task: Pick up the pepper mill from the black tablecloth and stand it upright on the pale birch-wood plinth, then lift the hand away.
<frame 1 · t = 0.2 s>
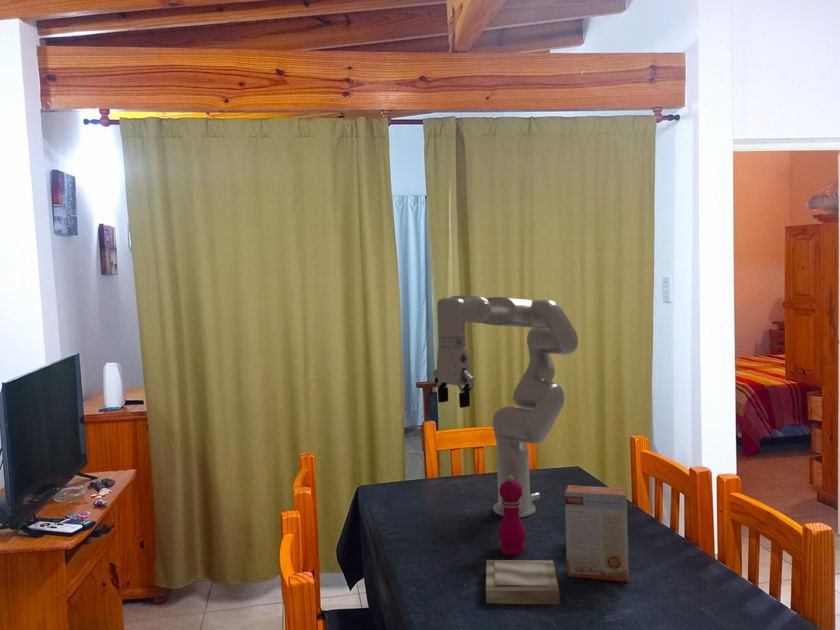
hand: (453, 404, 198), 36 cm above the table, tool pointing down, fingers open, 9 cm apart
pepper mill: (512, 551, 187), on the table
cracker box: (597, 575, 171), on the table
birch plinth: (521, 587, 166), on the table
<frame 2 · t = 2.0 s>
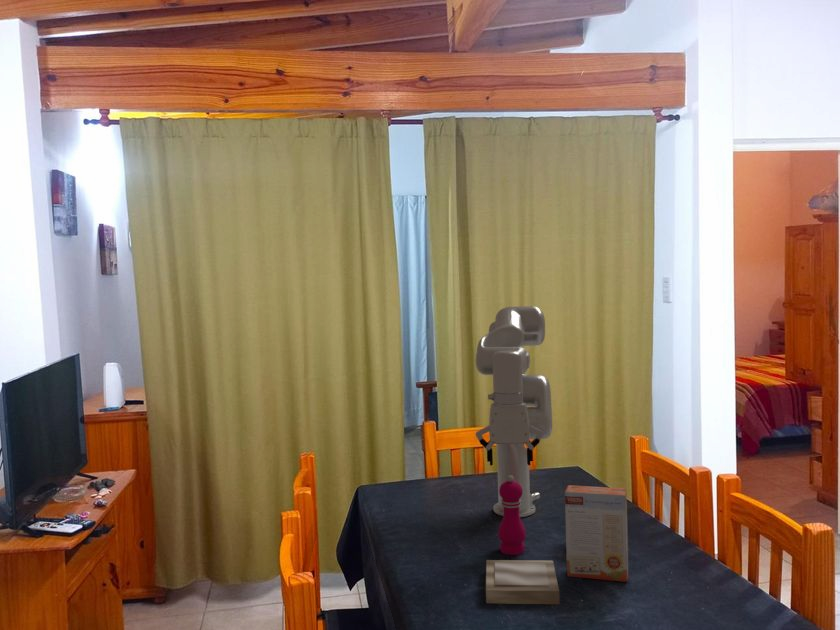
hand: (510, 464, 185), 23 cm above the table, tool pointing down, fingers open, 9 cm apart
nothing on the table moved.
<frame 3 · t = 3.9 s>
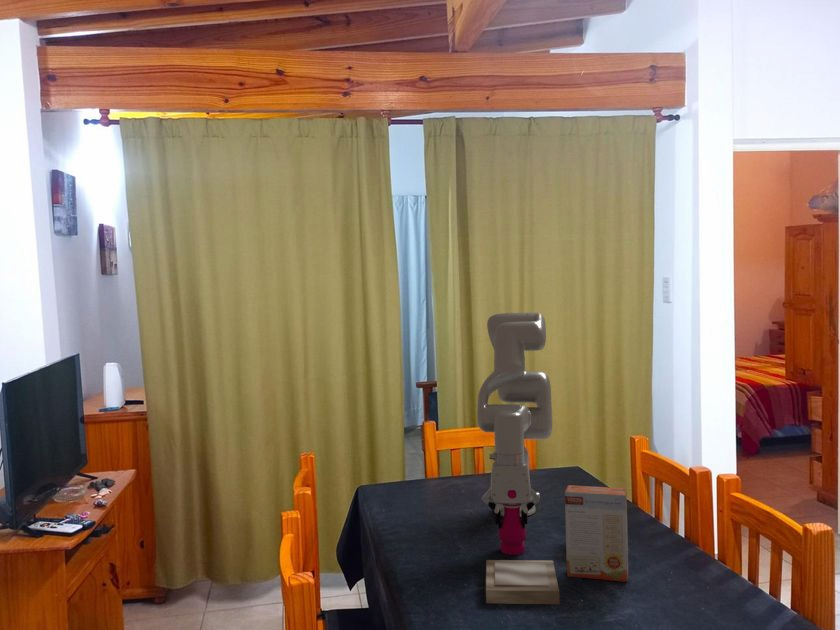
hand: (511, 525, 186), 7 cm above the table, tool pointing down, fingers closed on pepper mill, 5 cm apart
pepper mill: (512, 551, 187), on the table, touching gripper
everything else where it was.
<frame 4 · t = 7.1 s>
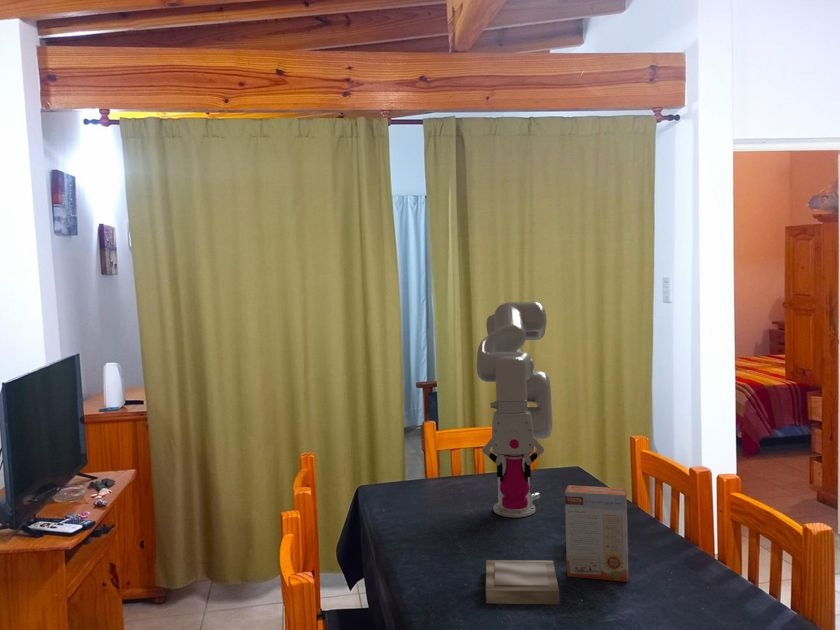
hand: (513, 479, 175), 22 cm above the table, tool pointing down, fingers closed on pepper mill, 5 cm apart
pepper mill: (514, 506, 175), point 15 cm above the table, touching gripper
everything else where it was.
when the fingers open (11 cm above the table, at t = 10.2 s): pepper mill stays where it is, resting on birch plinth.
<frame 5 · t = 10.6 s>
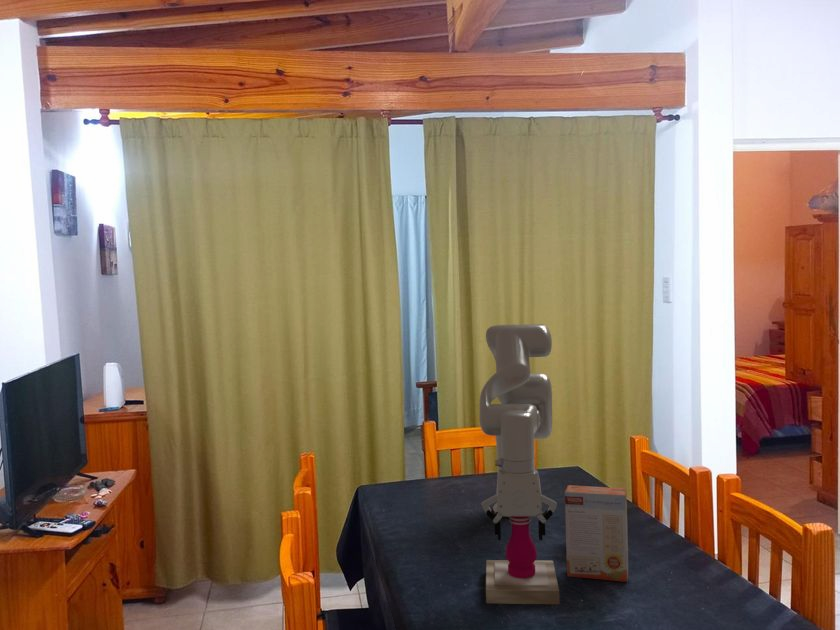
hand: (519, 538, 165), 12 cm above the table, tool pointing down, fingers open, 9 cm apart
pepper mill: (521, 573, 165), point 3 cm above the table, touching birch plinth
everything else where it was.
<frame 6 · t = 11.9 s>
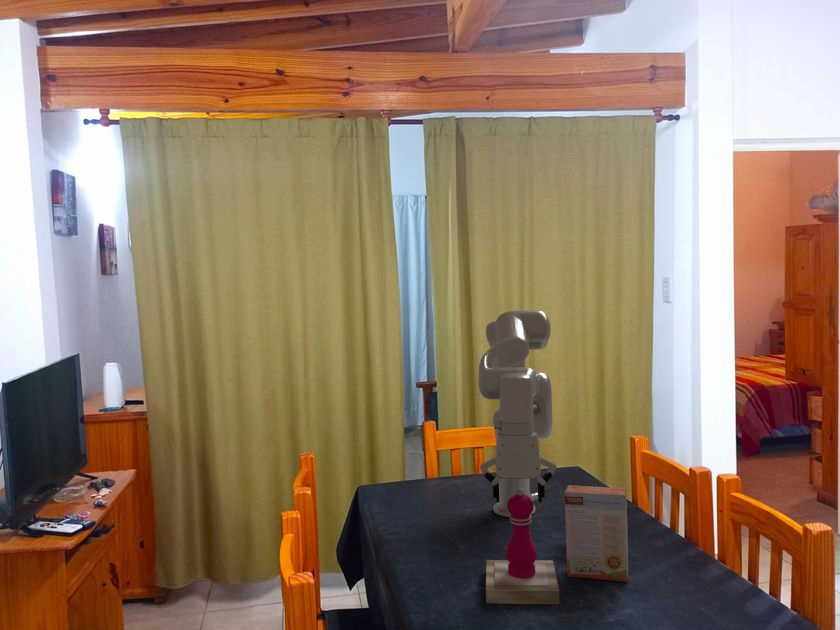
hand: (518, 500, 164), 20 cm above the table, tool pointing down, fingers open, 9 cm apart
nothing on the table moved.
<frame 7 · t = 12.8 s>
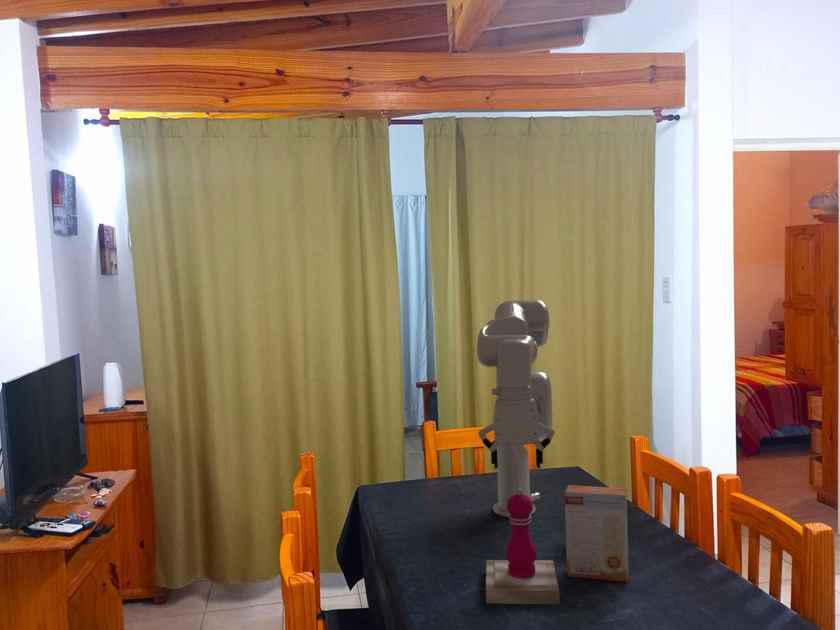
hand: (517, 466, 164), 28 cm above the table, tool pointing down, fingers open, 9 cm apart
nothing on the table moved.
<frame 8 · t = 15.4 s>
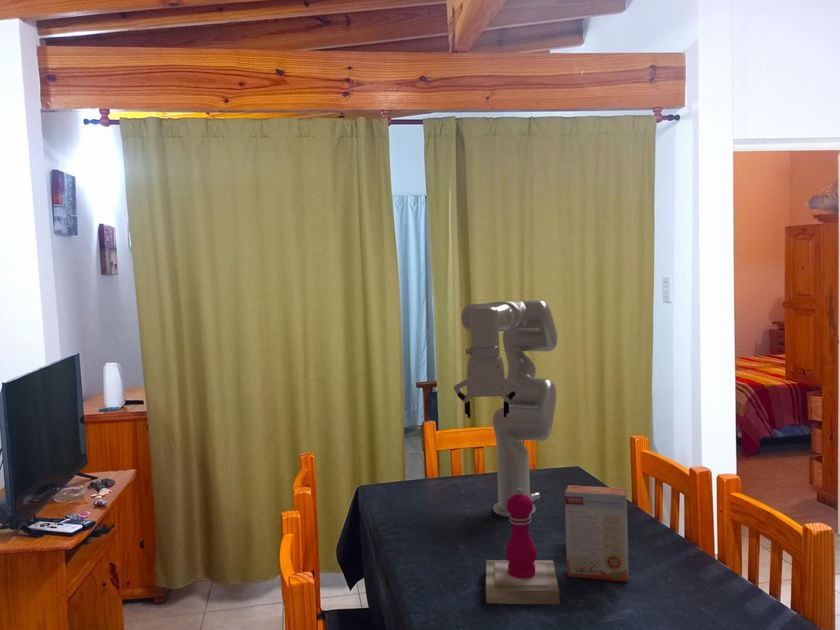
hand: (487, 416, 190), 34 cm above the table, tool pointing down, fingers open, 9 cm apart
nothing on the table moved.
at the end: pepper mill inside the target area on the birch plinth (0.3 cm from its centre), point 3.2 cm above the birch plinth's base; pepper mill tilted 0°; the gripper is holding nothing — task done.
